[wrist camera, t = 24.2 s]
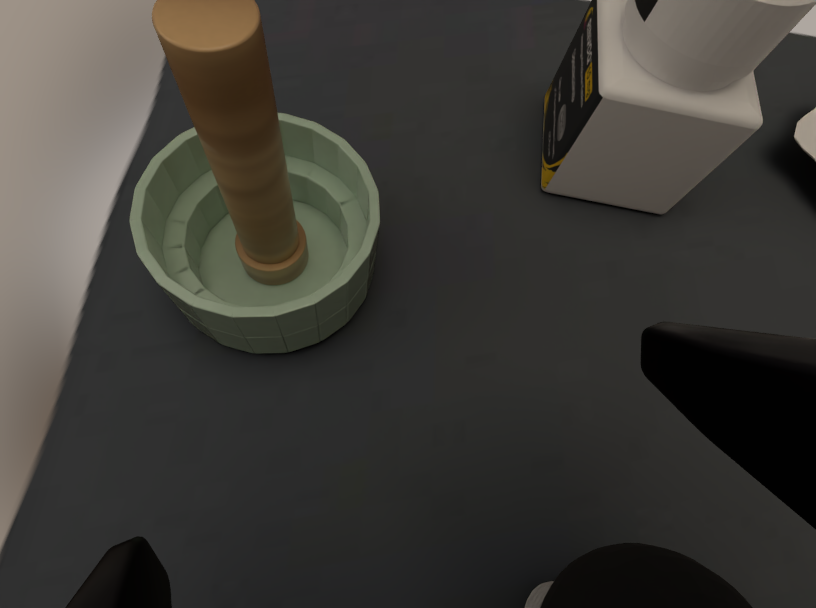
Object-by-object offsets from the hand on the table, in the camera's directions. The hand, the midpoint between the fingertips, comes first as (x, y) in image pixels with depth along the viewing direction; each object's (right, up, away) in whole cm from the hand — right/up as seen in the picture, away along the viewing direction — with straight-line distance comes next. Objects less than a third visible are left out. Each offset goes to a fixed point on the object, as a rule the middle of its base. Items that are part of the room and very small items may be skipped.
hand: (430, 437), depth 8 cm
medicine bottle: (+11, +11, +20) cm, 25 cm away
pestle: (-6, +4, +14) cm, 16 cm away
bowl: (-7, +4, +15) cm, 16 cm away
